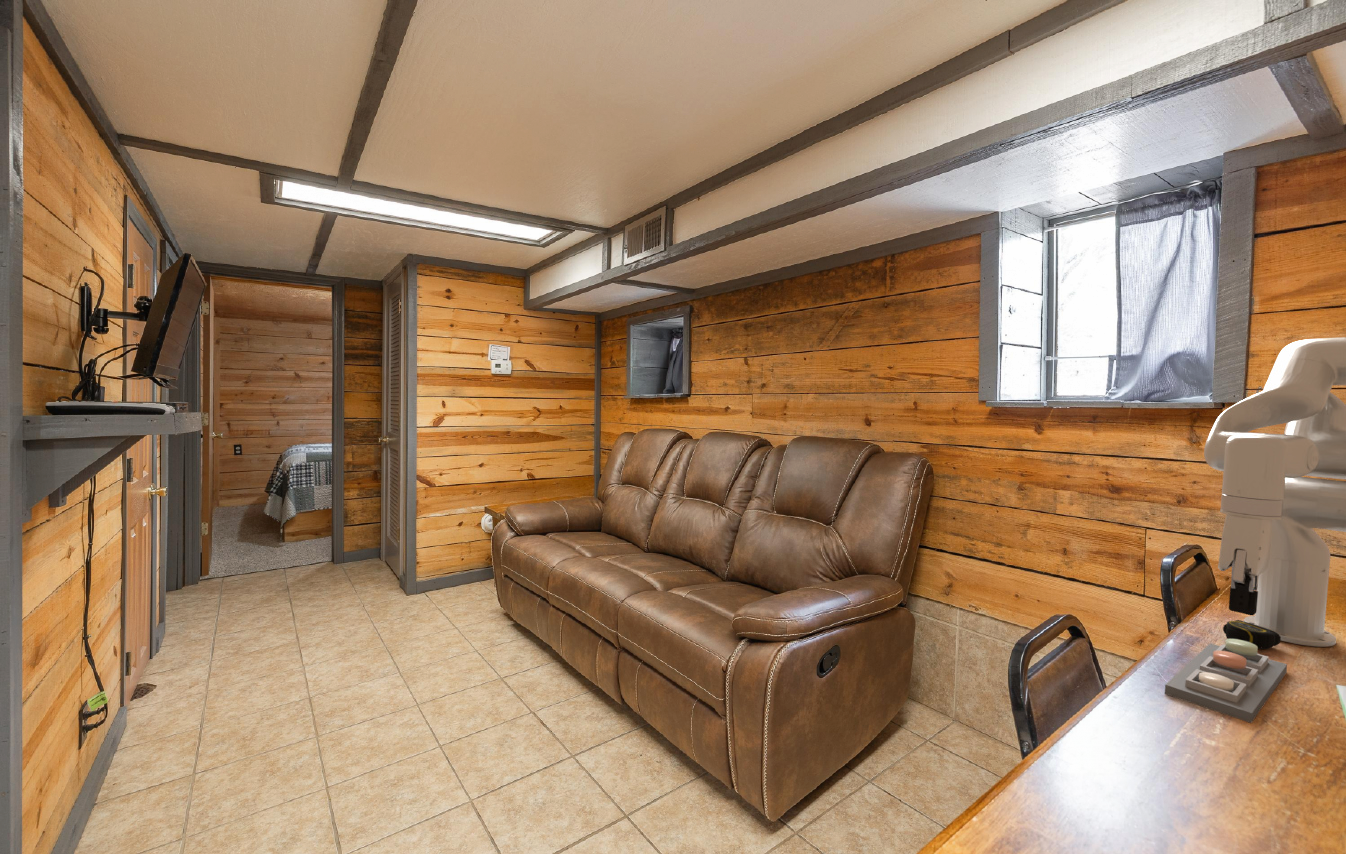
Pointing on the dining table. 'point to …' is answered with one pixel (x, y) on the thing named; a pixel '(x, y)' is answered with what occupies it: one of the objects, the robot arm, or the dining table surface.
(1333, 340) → the robot arm
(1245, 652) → the button sage
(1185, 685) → the button board
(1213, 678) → the cream button
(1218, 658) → the button terracotta
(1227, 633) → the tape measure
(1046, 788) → the dining table surface
